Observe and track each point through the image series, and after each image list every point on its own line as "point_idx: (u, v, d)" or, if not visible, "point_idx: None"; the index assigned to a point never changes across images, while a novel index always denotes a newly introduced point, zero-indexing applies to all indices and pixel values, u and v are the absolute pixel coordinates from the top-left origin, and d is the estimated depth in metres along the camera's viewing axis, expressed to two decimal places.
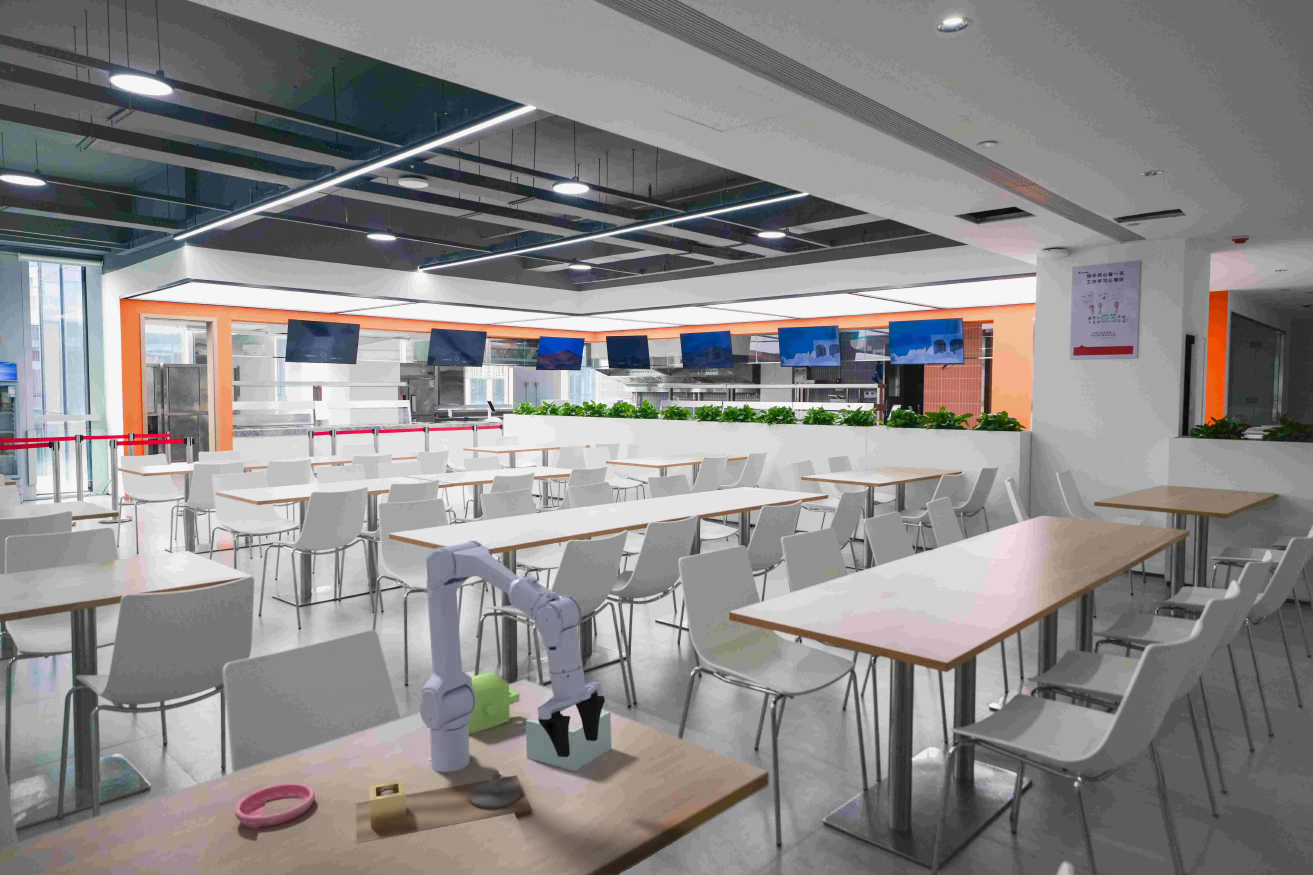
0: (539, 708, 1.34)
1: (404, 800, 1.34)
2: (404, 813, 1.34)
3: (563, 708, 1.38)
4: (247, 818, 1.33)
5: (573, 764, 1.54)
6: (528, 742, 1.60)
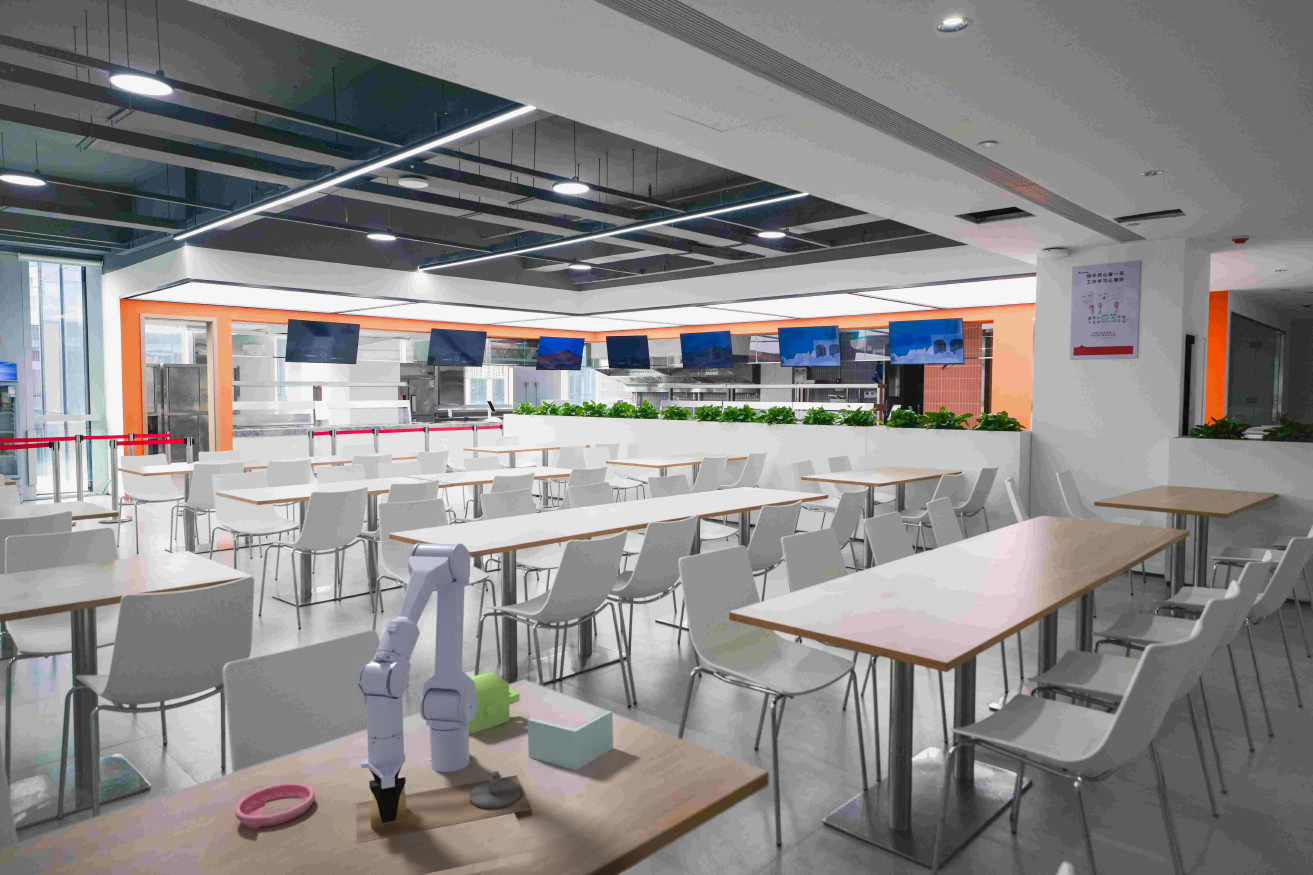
0: None
1: (404, 800, 1.34)
2: (404, 813, 1.34)
3: None
4: (247, 818, 1.33)
5: (575, 763, 1.55)
6: (530, 741, 1.61)
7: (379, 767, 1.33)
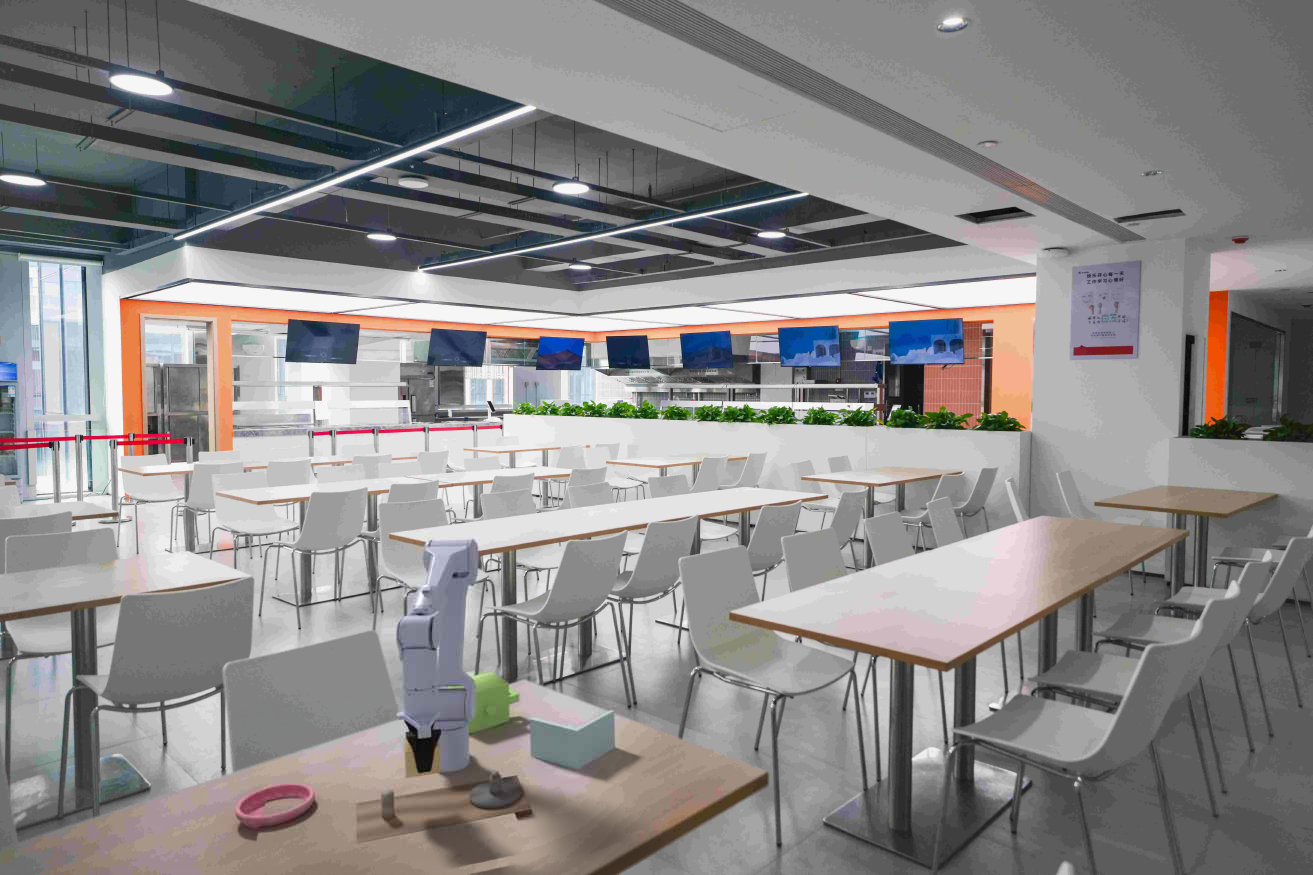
0: None
1: (438, 752, 1.36)
2: (438, 765, 1.36)
3: None
4: (247, 818, 1.33)
5: (576, 762, 1.55)
6: (532, 740, 1.61)
7: (415, 719, 1.35)
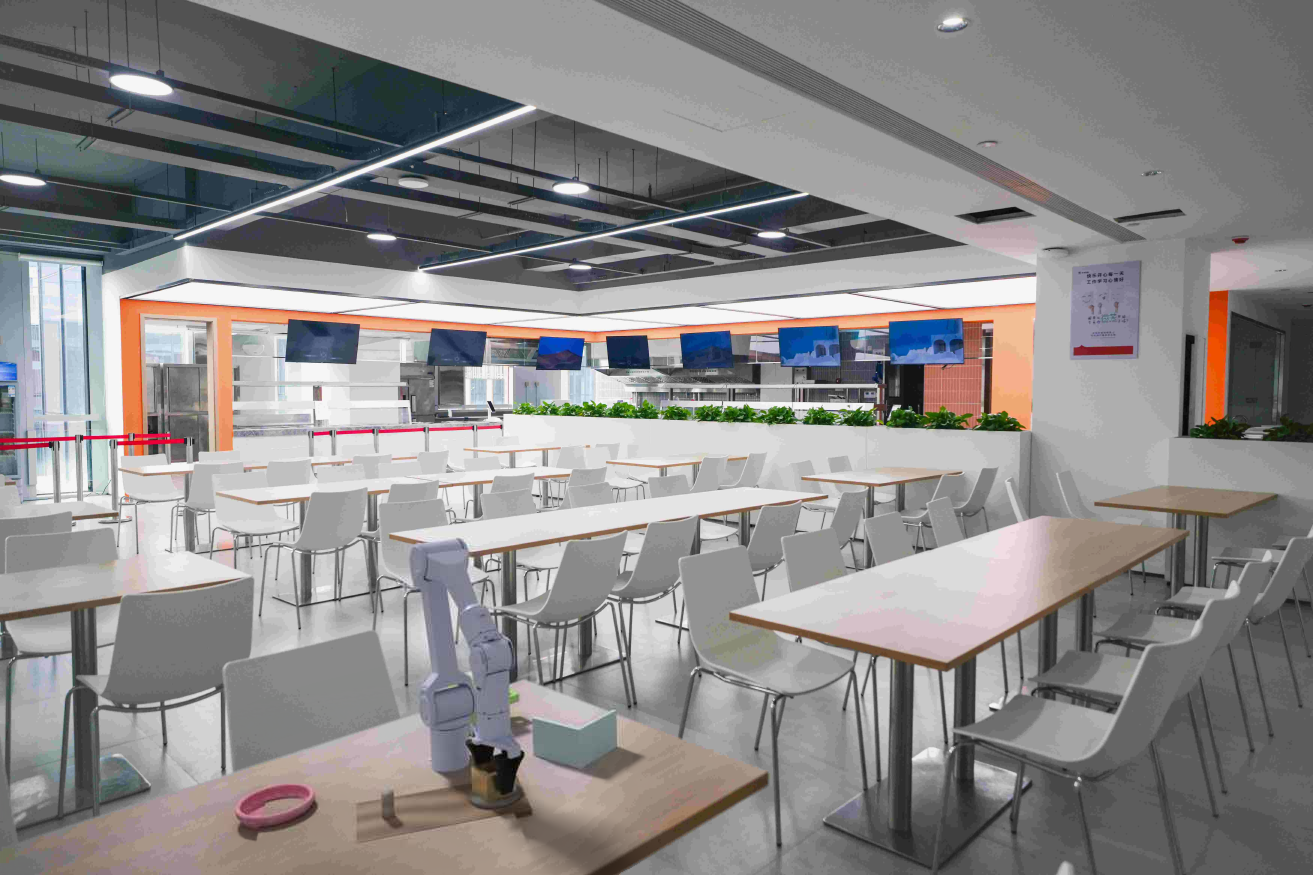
0: (477, 722, 1.48)
1: None
2: (514, 786, 1.42)
3: None
4: (247, 818, 1.33)
5: (578, 761, 1.55)
6: (534, 739, 1.61)
7: (496, 741, 1.39)
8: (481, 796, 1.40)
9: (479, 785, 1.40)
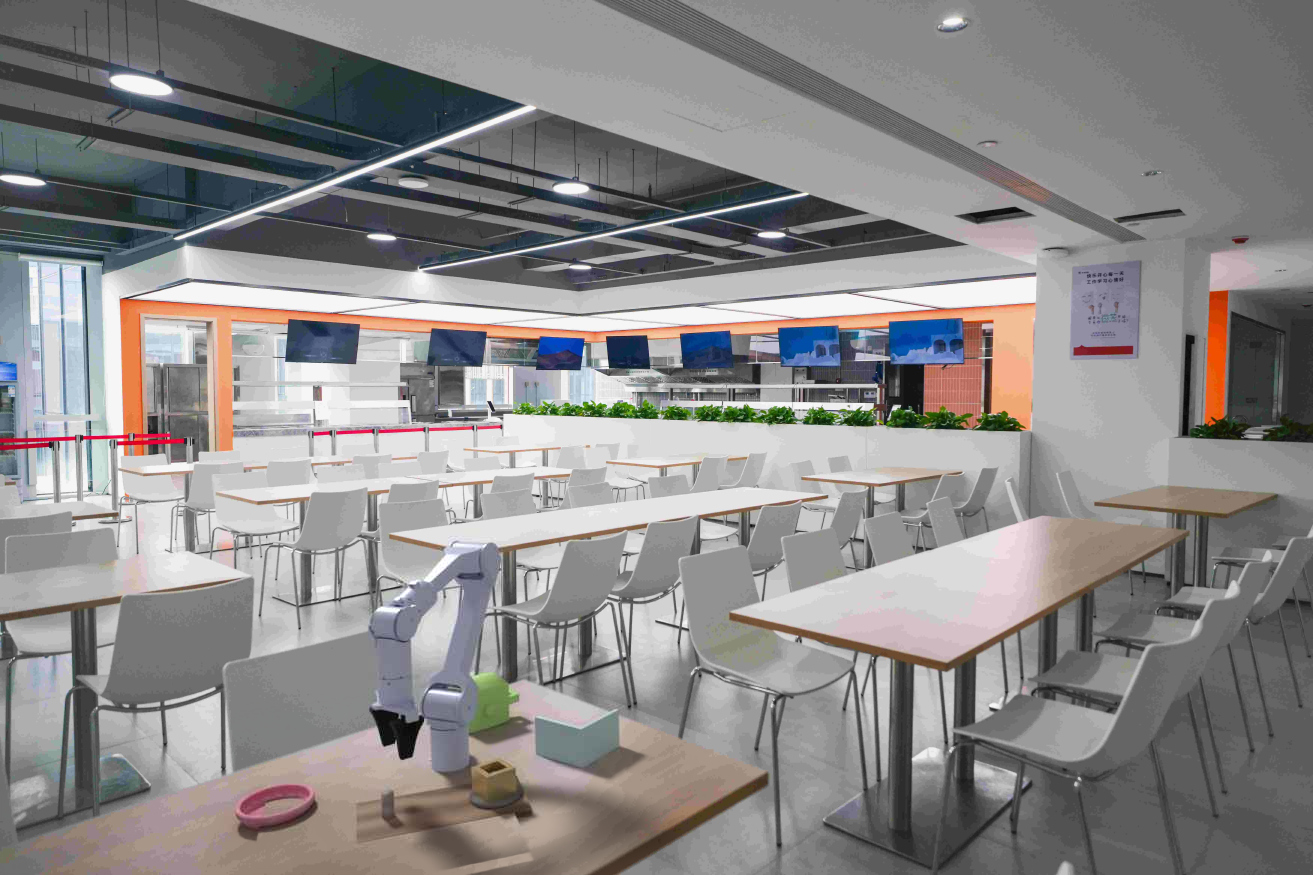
0: None
1: (514, 773, 1.42)
2: (514, 786, 1.42)
3: None
4: (247, 818, 1.33)
5: (581, 760, 1.56)
6: (537, 738, 1.62)
7: (395, 706, 1.39)
8: (481, 796, 1.40)
9: (479, 785, 1.40)
